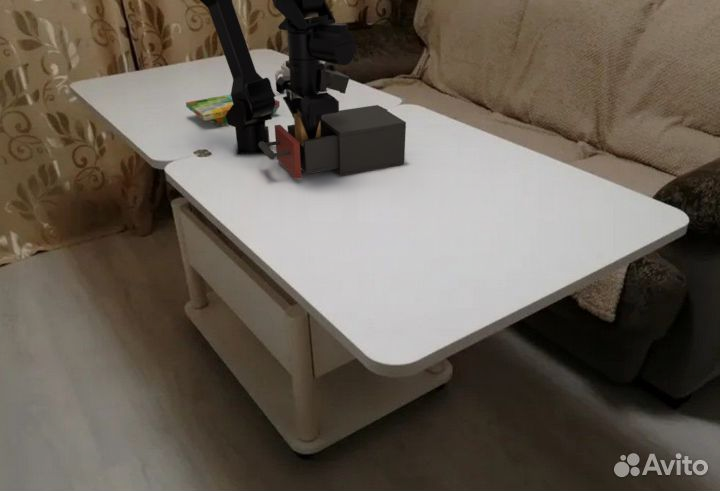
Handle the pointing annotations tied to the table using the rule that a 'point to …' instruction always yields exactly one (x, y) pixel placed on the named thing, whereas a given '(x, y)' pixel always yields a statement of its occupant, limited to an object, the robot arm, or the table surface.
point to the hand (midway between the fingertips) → (307, 136)
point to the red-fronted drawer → (304, 151)
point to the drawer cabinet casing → (367, 139)
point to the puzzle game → (216, 108)
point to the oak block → (302, 130)
